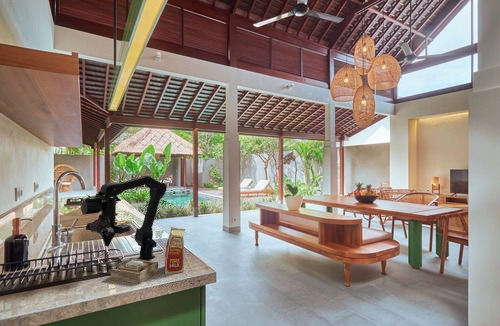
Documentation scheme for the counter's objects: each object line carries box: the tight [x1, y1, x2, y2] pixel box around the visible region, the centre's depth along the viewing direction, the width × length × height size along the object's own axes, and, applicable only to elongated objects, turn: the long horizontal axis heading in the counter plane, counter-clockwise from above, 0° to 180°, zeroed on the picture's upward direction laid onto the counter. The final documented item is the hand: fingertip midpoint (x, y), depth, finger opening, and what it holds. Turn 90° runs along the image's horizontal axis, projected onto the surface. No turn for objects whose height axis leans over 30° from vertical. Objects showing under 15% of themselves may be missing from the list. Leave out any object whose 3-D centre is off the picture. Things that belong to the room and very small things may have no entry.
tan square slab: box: [116, 258, 148, 273], centre depth 115 cm, size 8×10×5 cm
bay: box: [110, 258, 159, 284], centre depth 115 cm, size 13×14×4 cm
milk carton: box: [164, 226, 186, 275], centre depth 123 cm, size 9×9×20 cm
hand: (107, 246), depth 118 cm, fingers closed
